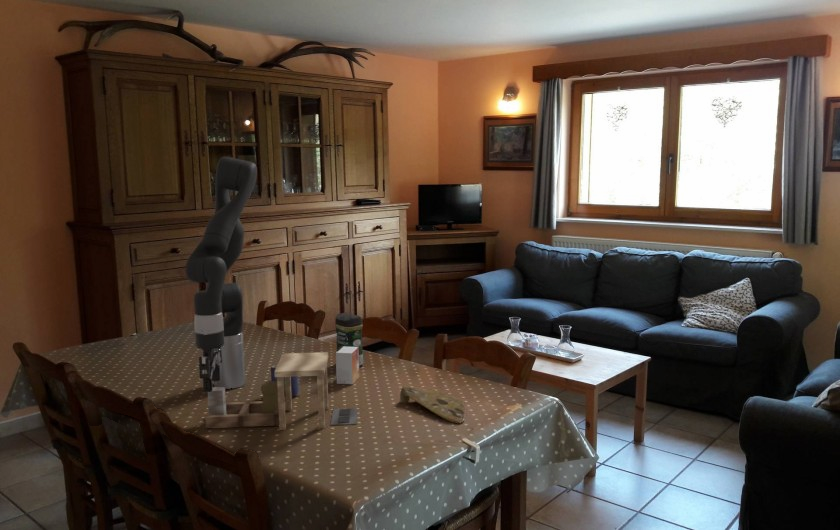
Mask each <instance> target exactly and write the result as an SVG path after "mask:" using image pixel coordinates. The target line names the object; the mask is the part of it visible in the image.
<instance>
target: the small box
mask: <svg viewBox="0 0 840 530" xmlns="http://www.w3.org/2000/svg"><path fill="white" fill-rule="evenodd" d="M335 373H336V374H335V375H336V384H338V385H353V384H355V383H356V381H357V380H358V379H359V378H360V367H359V347H345V346H343V347H342V348H341V349H340V350H339V351H338V352H337V351H336V352H335Z"/></svg>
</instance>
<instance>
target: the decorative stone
mask: <svg viewBox="0 0 840 530" xmlns="http://www.w3.org/2000/svg"><path fill="white" fill-rule="evenodd" d="M410 399H411V400H413V401H415V402H416V403H418V404H419V405H421V406H422V407H424V408H425V409H427V410H428V411H430V412H432V413H434V414H435V415H437V416H439V417H441V418H442V419H445V420H446V421H448V422H451V423H454V422H455V424H458V423H460V422H462V421H463V418H464V414H465V411H464V408H465V406H464V407H463V401H464V400H462V399H460V398H458V397H455V396H452V395H449V394H446V393H443V392H440V391H437V390H434V389H417V388H413V387H410V386H403V387H402V388H401V389H400V394H399V401H400V403H401V402H406V403H409V402H410ZM408 401H409V402H408Z"/></svg>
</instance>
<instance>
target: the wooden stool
mask: <svg viewBox="0 0 840 530" xmlns="http://www.w3.org/2000/svg"><path fill="white" fill-rule="evenodd" d="M328 361H329V351H323V352H296V353H295V352H293V353H290V352H289V353H282V355H281V357H280V359H279V361H278V363H277V364H278V365H277V364H276V365H277V367H276V369H275V372H274V373H275V377H277V386H278V407H279V425H278V426H279V431H285V430H286V428H287V421H286V420H287V419H286V412H292V410H293V404H292V403H293V402H292V400H293V399H292V398H293V397H291V377H293V376H299V377H316V381H317V383H316V384H317V407H318V408H317V410H318V412H317V413H318V429H325V428H326V418H325V416H326V415H325V413H326V412H325V411H326V410H329V392H328V390H329V387H328V365H327V364H328ZM284 377H285V396H286V397H285V396H284ZM331 413H332V415H331V419H330V420H331V421H330V426H348V425H351V426H352V425H357V423H358V407H351V408H350V407H348V408H347V407H346V408H333V409H332V412H331Z"/></svg>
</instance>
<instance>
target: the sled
mask: <svg viewBox="0 0 840 530" xmlns="http://www.w3.org/2000/svg"><path fill="white" fill-rule="evenodd" d="M212 387H213V386H212ZM207 401H208V403H207V404H208V415H206V416H205V428H206V429H216V428H241V427H243V428H244V427H266V426H267V427H268V426H279V410H277V411H275V412H274V413H262V405H263V400H262V401H257V400H256V401H237V402H236V401H233V402H232V401H231V402H227V399H226V389H225V387H213V390H212V391H211V392H207Z"/></svg>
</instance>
